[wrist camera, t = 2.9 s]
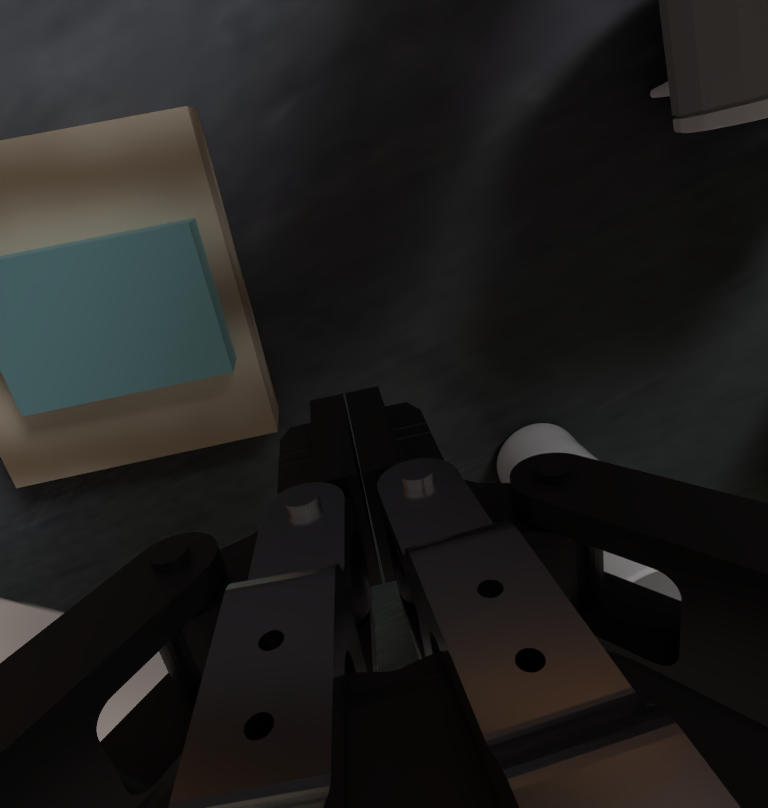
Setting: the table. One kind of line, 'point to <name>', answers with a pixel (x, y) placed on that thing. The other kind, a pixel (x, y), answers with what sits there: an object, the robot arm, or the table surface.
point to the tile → (110, 317)
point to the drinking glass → (561, 441)
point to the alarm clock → (715, 62)
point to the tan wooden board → (113, 213)
